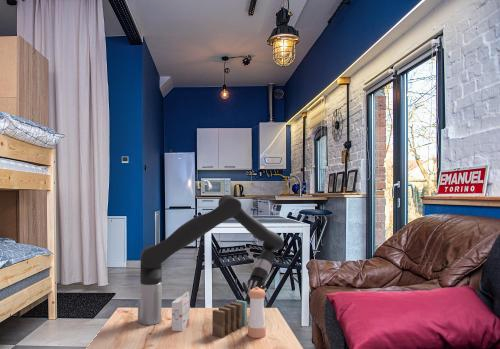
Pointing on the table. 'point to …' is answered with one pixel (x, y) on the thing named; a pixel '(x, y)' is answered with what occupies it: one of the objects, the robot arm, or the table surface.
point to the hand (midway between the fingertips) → (246, 303)
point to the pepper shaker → (256, 313)
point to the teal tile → (243, 311)
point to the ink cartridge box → (180, 313)
